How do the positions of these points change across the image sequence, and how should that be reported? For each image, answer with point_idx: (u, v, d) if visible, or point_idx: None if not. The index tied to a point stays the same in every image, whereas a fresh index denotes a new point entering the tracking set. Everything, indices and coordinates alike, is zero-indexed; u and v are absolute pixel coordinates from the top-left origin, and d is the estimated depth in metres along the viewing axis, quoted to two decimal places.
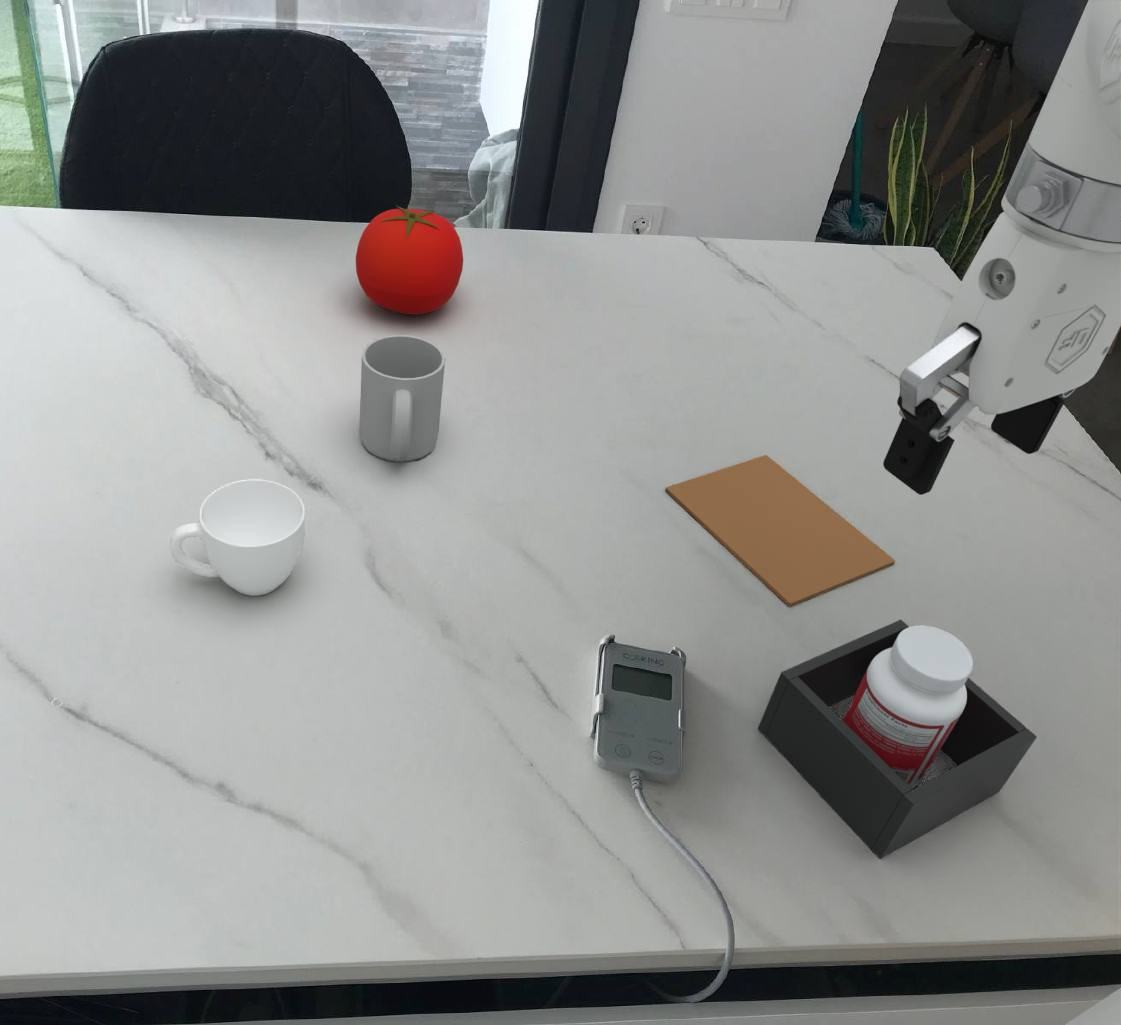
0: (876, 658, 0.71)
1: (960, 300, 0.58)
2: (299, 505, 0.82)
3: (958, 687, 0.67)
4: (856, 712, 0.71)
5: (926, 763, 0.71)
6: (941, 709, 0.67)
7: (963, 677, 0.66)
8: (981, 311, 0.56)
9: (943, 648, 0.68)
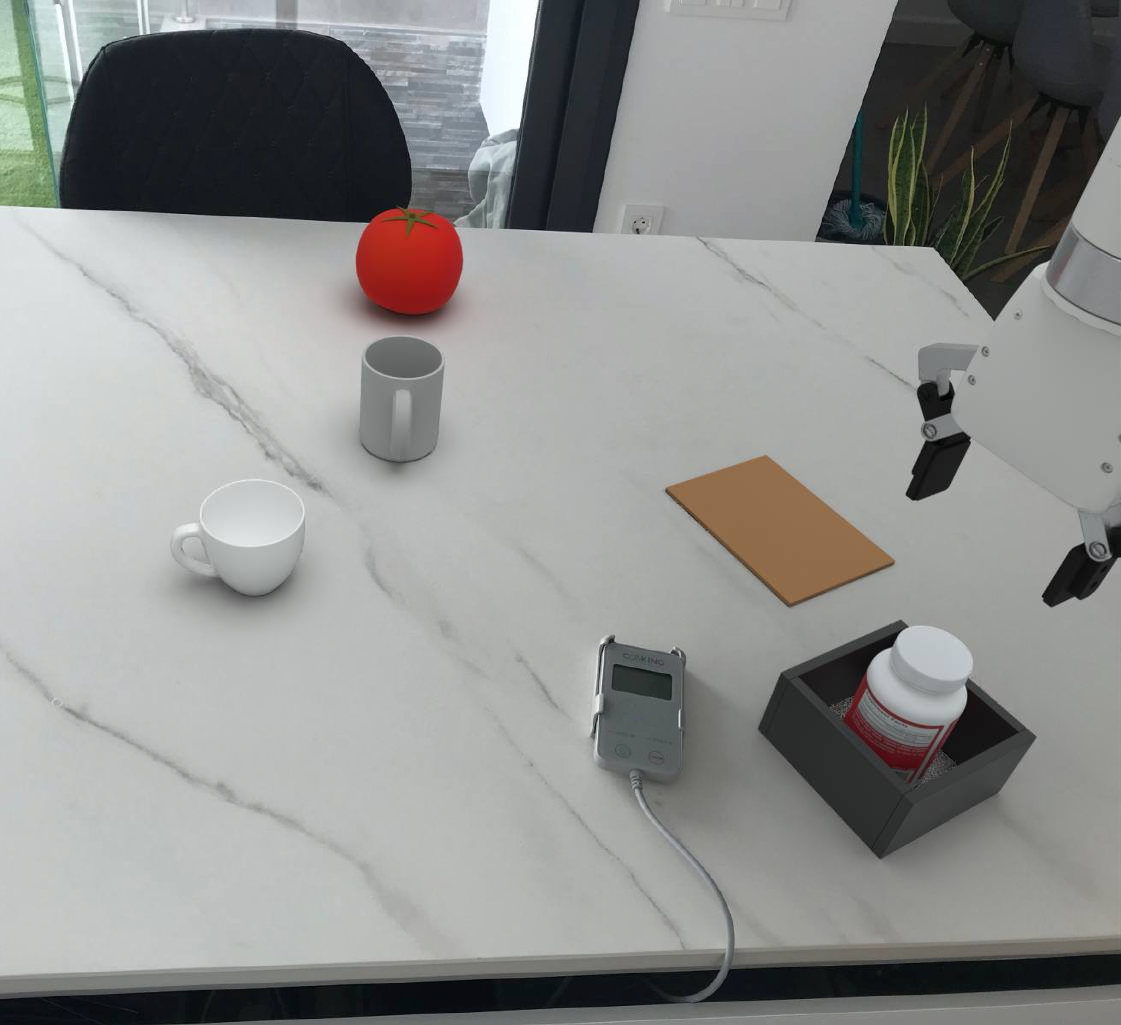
0: (876, 658, 0.71)
1: None
2: (299, 505, 0.82)
3: (958, 687, 0.67)
4: (856, 712, 0.71)
5: (926, 764, 0.71)
6: (941, 709, 0.67)
7: (963, 677, 0.66)
8: None
9: (943, 648, 0.68)
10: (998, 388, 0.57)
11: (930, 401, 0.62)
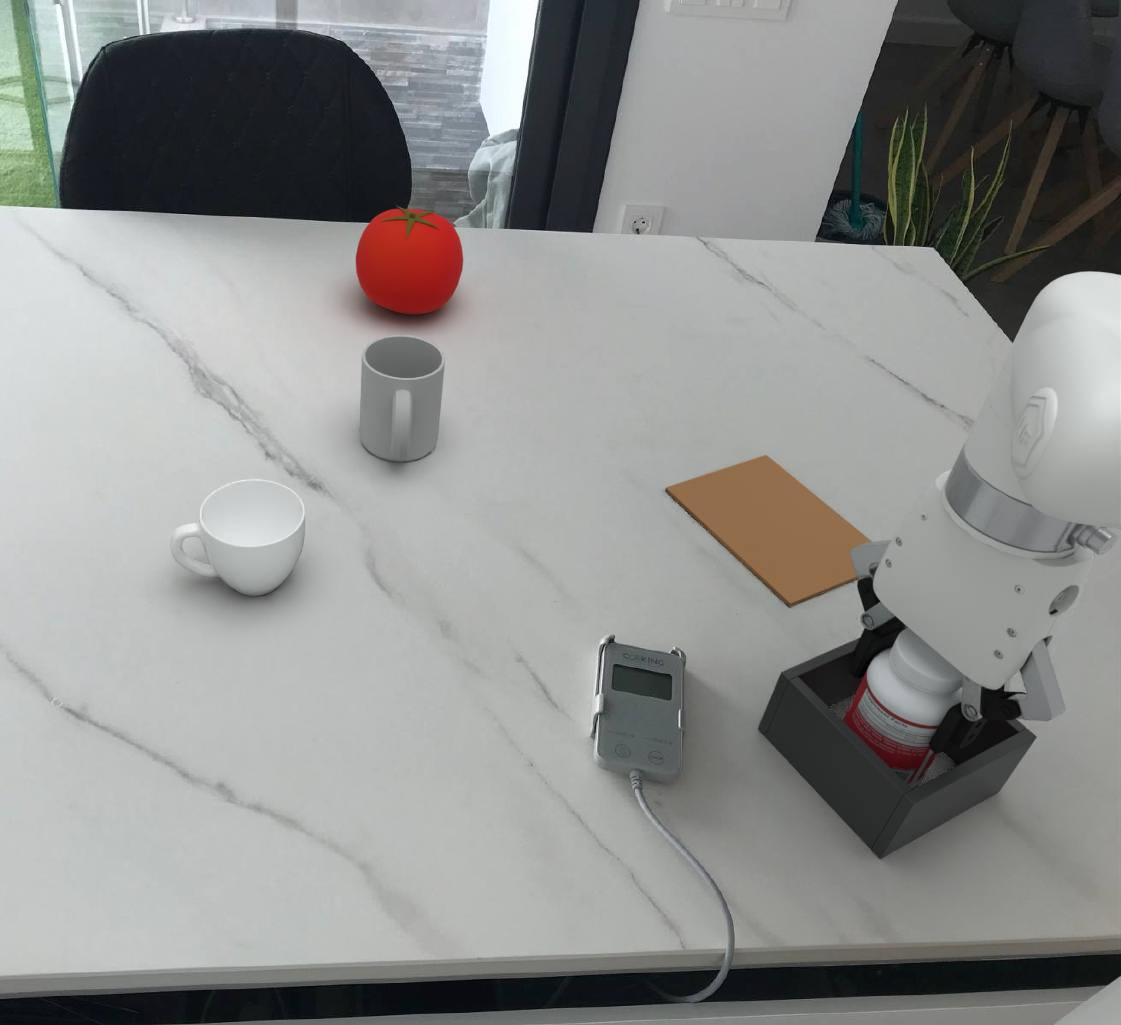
0: (876, 658, 0.71)
1: (1033, 633, 0.60)
2: (299, 505, 0.82)
3: (958, 687, 0.67)
4: (856, 712, 0.71)
5: (926, 763, 0.71)
6: (941, 709, 0.67)
7: None
8: (1052, 625, 0.60)
9: None
10: (910, 574, 0.65)
11: (868, 594, 0.70)
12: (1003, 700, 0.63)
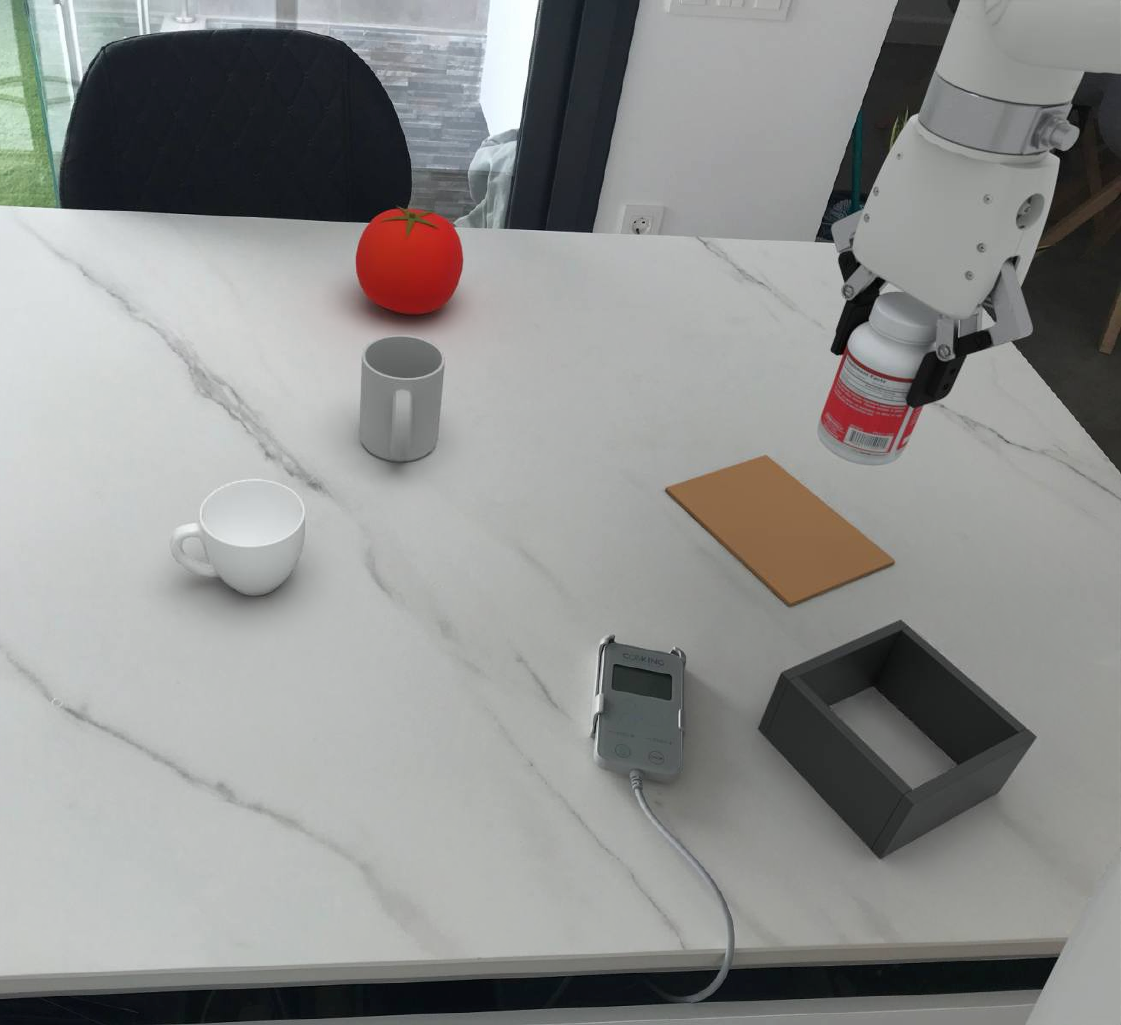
0: (857, 327, 0.74)
1: (1001, 246, 0.63)
2: (299, 505, 0.82)
3: (934, 337, 0.70)
4: (837, 384, 0.75)
5: (905, 430, 0.74)
6: (917, 361, 0.71)
7: None
8: (1020, 241, 0.63)
9: (920, 306, 0.71)
10: (886, 220, 0.68)
11: (848, 266, 0.74)
12: (975, 332, 0.67)
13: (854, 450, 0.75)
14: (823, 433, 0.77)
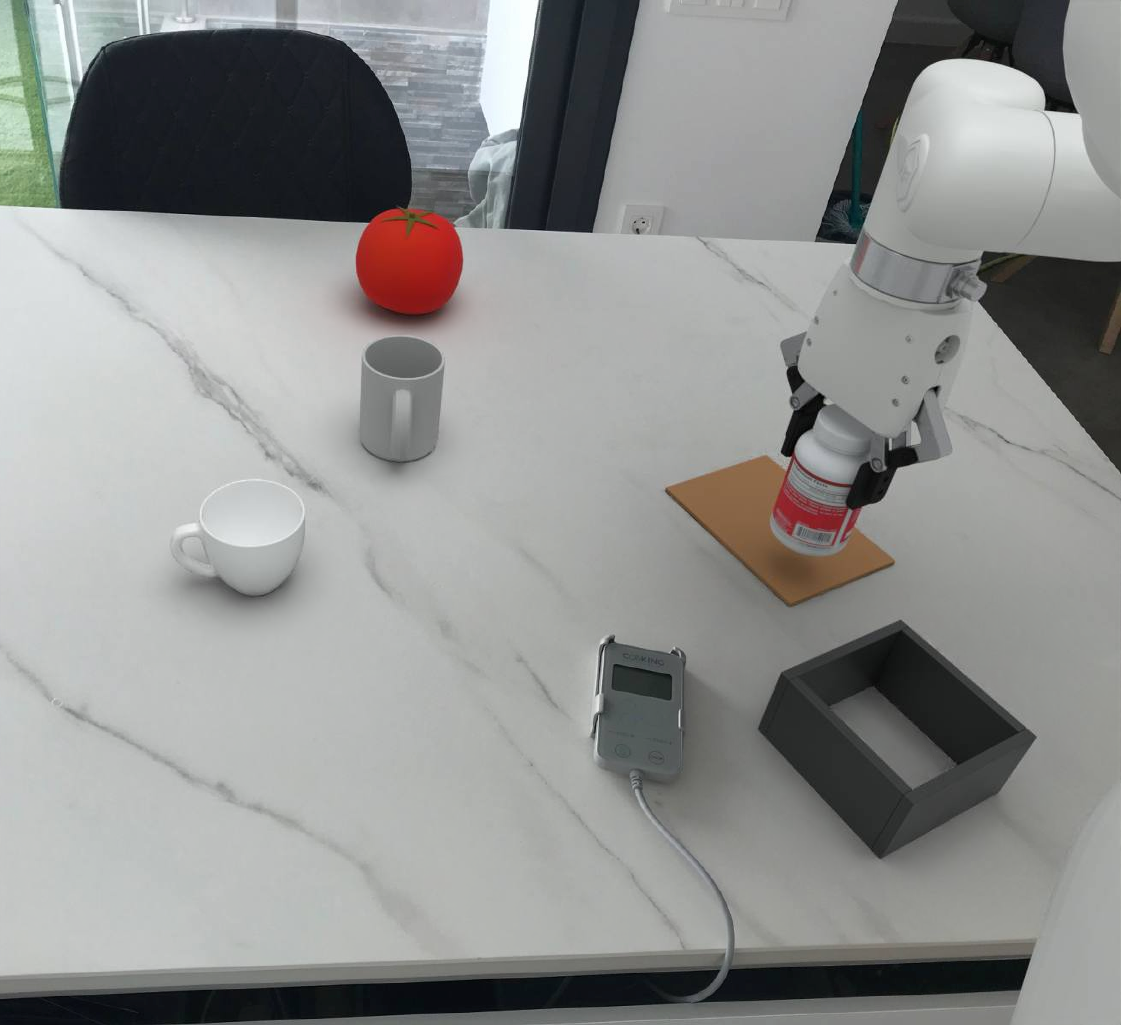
0: (803, 434, 0.82)
1: (923, 379, 0.71)
2: (299, 505, 0.82)
3: (869, 448, 0.78)
4: (786, 484, 0.83)
5: (846, 526, 0.82)
6: (855, 469, 0.79)
7: None
8: (940, 374, 0.71)
9: None
10: (825, 347, 0.76)
11: (795, 380, 0.82)
12: (903, 449, 0.75)
13: (801, 543, 0.83)
14: (774, 526, 0.85)
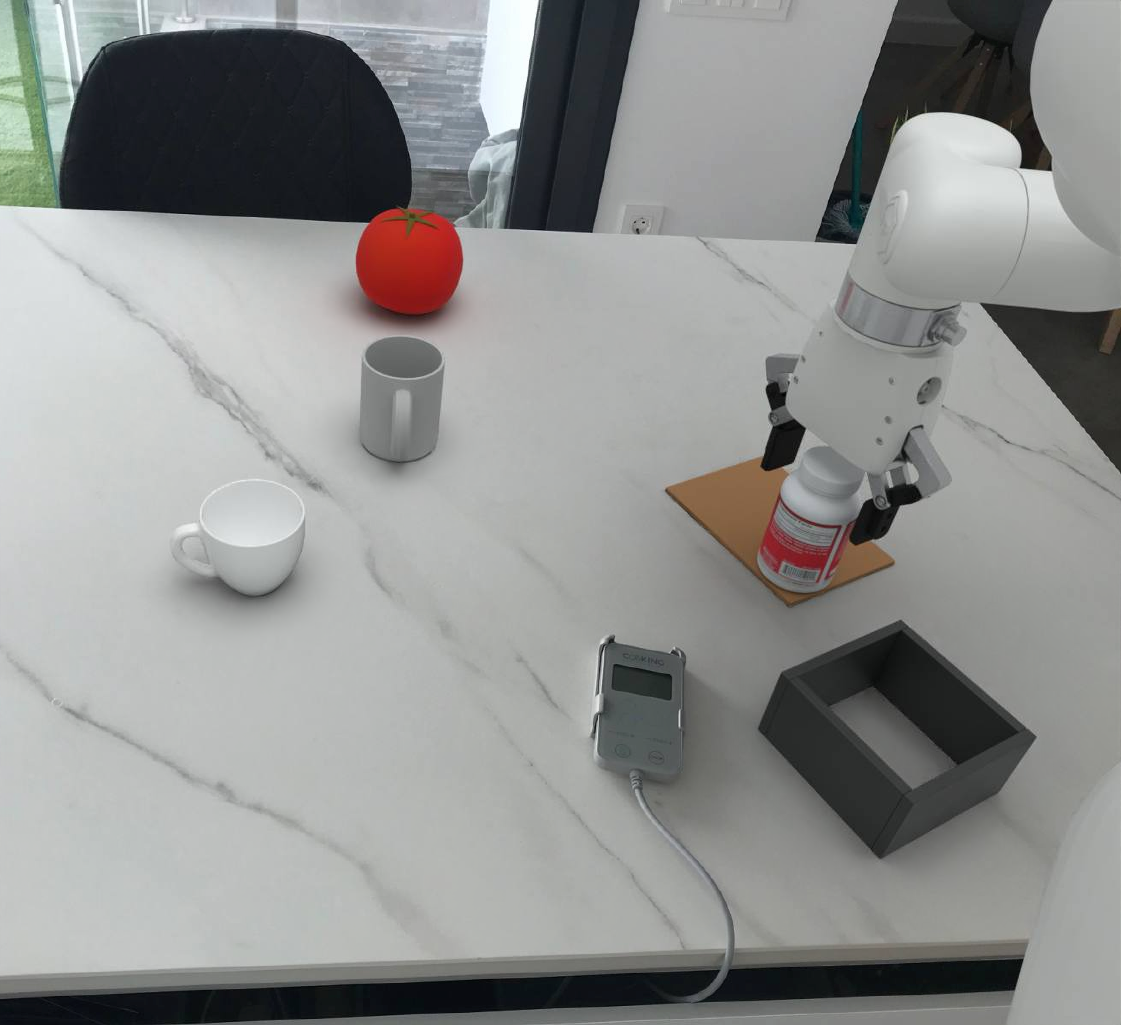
0: (788, 475, 0.84)
1: (905, 419, 0.73)
2: (299, 505, 0.82)
3: (852, 491, 0.81)
4: (772, 523, 0.85)
5: (831, 564, 0.85)
6: (838, 510, 0.81)
7: (855, 481, 0.80)
8: (922, 414, 0.74)
9: (841, 462, 0.82)
10: (812, 385, 0.78)
11: (774, 396, 0.84)
12: (906, 487, 0.75)
13: (787, 580, 0.86)
14: (761, 563, 0.88)
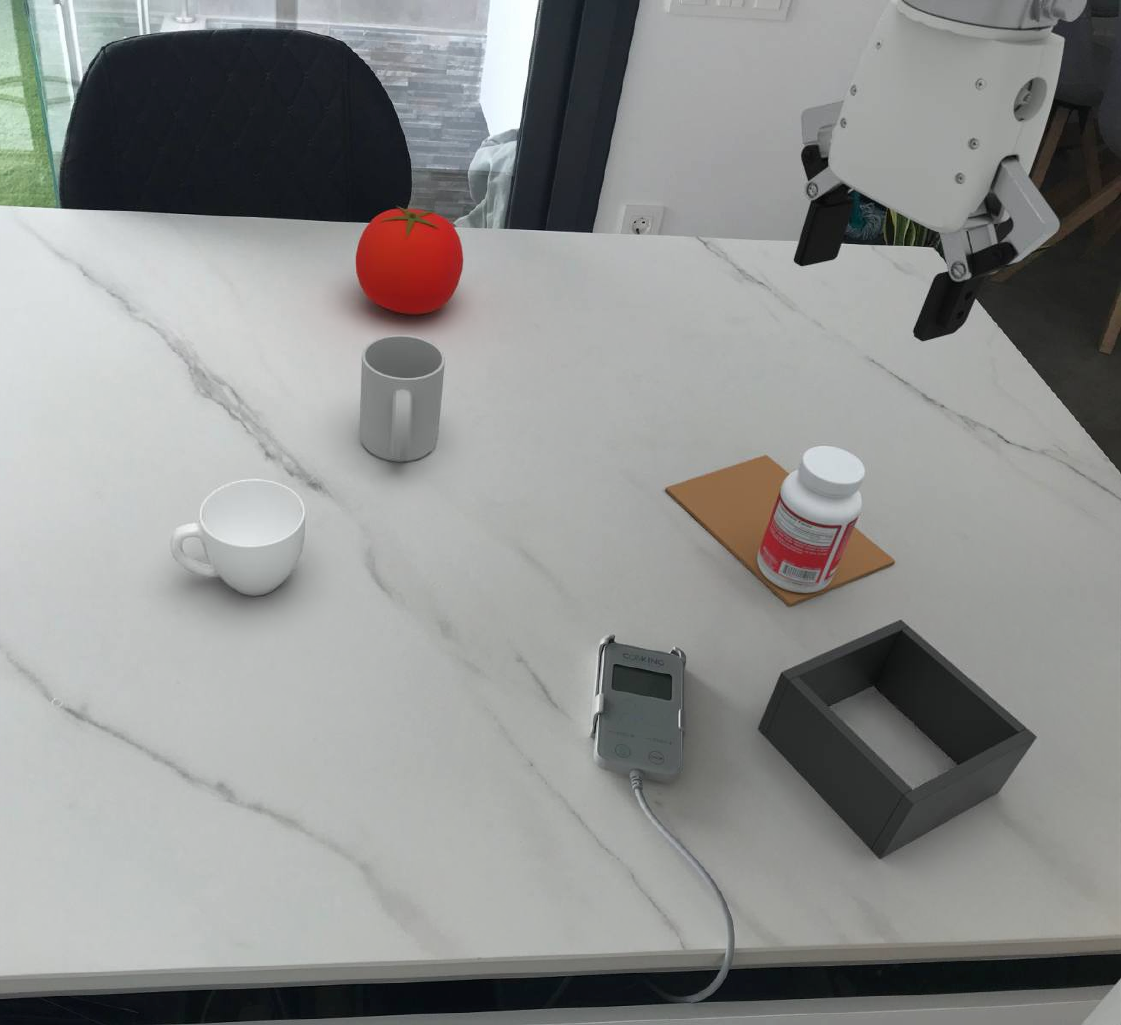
0: (788, 475, 0.84)
1: (997, 141, 0.54)
2: (299, 505, 0.82)
3: (852, 491, 0.81)
4: (772, 523, 0.85)
5: (831, 564, 0.85)
6: (838, 510, 0.81)
7: (855, 481, 0.80)
8: (1019, 137, 0.54)
9: (841, 462, 0.82)
10: (865, 123, 0.59)
11: (812, 162, 0.65)
12: (995, 244, 0.56)
13: (787, 580, 0.86)
14: (761, 563, 0.88)
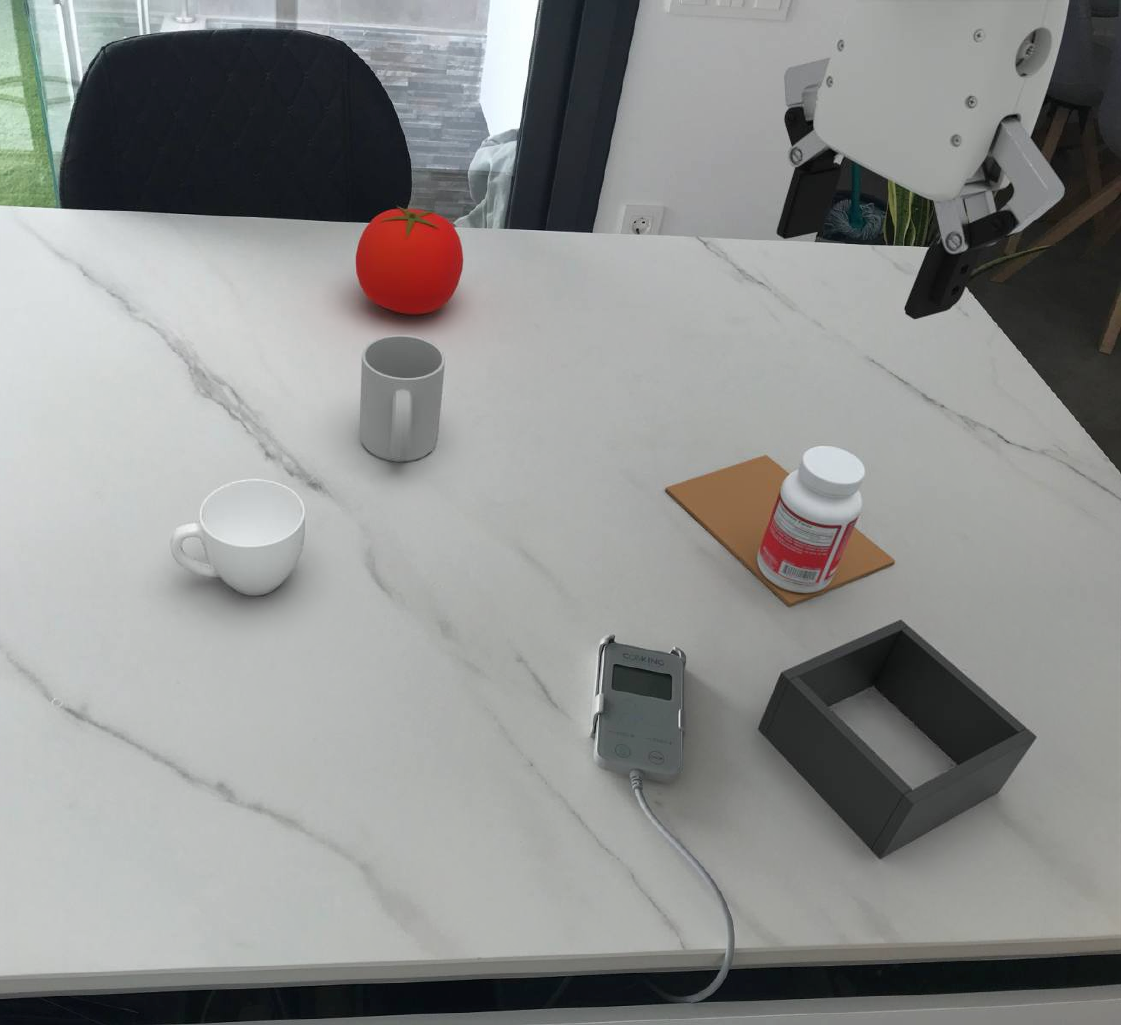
0: (788, 475, 0.84)
1: (997, 99, 0.49)
2: (299, 505, 0.82)
3: (852, 491, 0.81)
4: (772, 523, 0.85)
5: (831, 564, 0.85)
6: (838, 510, 0.81)
7: (855, 481, 0.80)
8: (1020, 94, 0.50)
9: (841, 462, 0.82)
10: (854, 81, 0.54)
11: (796, 125, 0.60)
12: (994, 213, 0.52)
13: (787, 580, 0.86)
14: (761, 563, 0.88)
